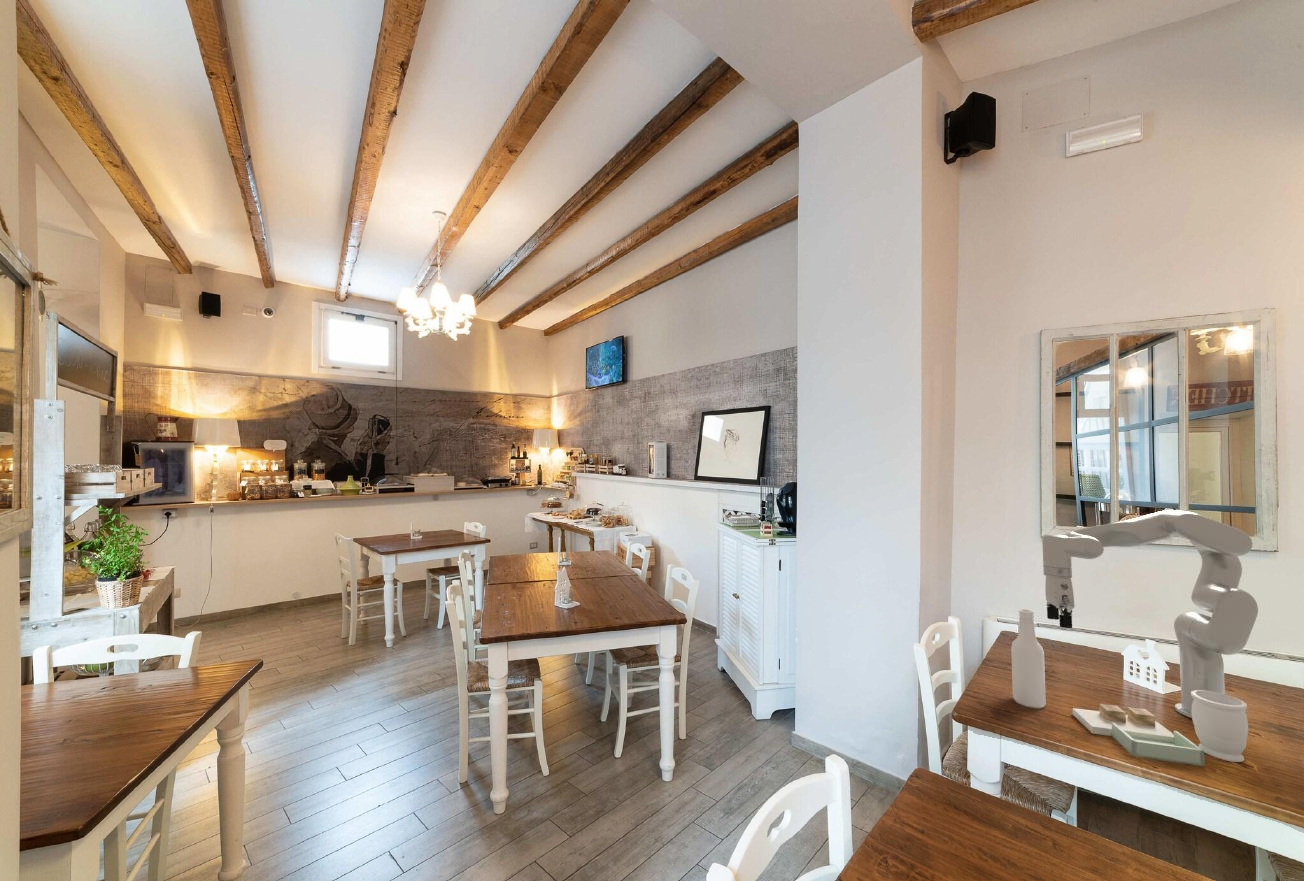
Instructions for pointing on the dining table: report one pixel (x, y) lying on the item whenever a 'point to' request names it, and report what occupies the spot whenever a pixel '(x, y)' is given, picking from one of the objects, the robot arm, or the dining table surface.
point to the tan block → (1112, 713)
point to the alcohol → (1028, 664)
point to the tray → (1161, 748)
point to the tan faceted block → (1141, 716)
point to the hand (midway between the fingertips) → (1059, 623)
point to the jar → (1220, 724)
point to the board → (1122, 726)
